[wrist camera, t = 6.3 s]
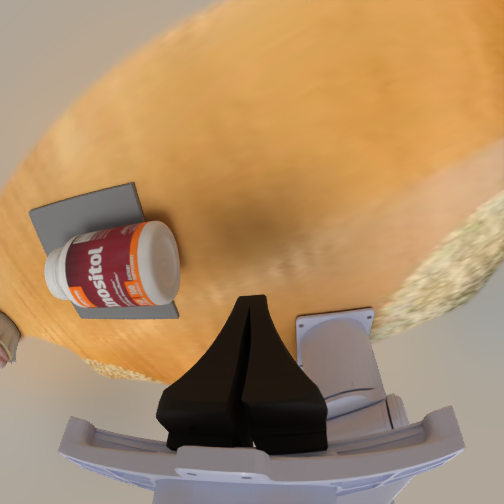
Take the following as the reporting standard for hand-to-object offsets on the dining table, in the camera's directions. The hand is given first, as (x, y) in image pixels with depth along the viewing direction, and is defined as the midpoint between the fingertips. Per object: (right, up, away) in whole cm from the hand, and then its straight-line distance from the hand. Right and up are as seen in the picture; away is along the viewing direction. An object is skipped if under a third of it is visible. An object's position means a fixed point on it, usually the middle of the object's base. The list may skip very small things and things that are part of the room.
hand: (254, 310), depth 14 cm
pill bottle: (-6, +2, +6) cm, 9 cm away
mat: (-15, +2, +10) cm, 18 cm away
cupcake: (-41, -9, +19) cm, 46 cm away
